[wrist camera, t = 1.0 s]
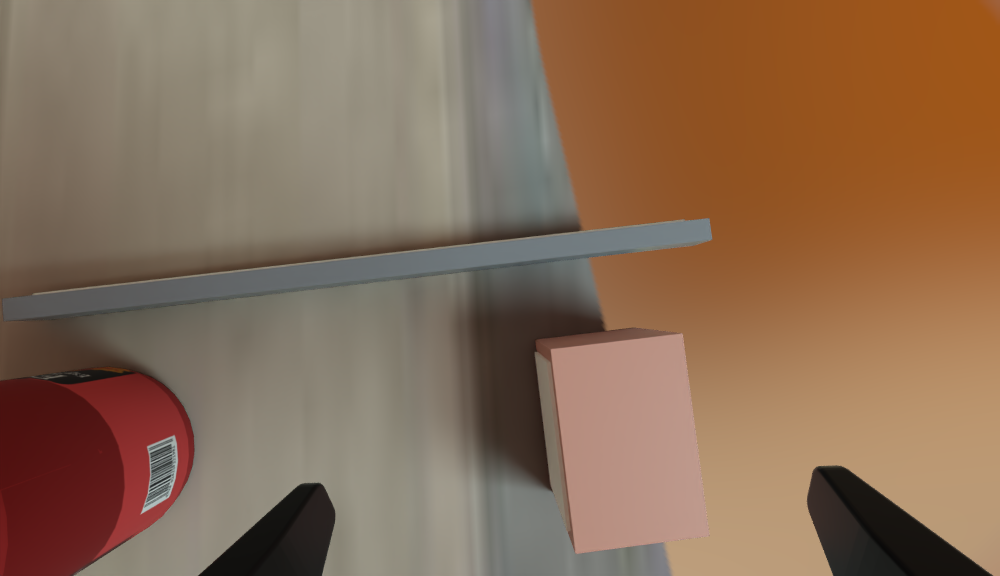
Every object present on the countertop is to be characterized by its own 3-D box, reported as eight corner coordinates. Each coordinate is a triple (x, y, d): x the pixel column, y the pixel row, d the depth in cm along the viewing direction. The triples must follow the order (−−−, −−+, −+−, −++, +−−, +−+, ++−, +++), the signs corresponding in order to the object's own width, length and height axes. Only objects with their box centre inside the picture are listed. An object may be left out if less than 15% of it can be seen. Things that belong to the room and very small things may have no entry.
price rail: (693, 245, 24) (712, 239, 22) (45, 320, 23) (3, 321, 21) (690, 223, 24) (708, 215, 22) (43, 297, 23) (1, 295, 21)
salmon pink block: (633, 327, 24) (682, 333, 18) (653, 478, 24) (709, 535, 18) (532, 339, 24) (546, 349, 18) (550, 491, 23) (571, 554, 17)
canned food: (138, 332, 23) (-176, 353, 12) (234, 465, 23) (2, 609, 12) (5, 428, 23) (-444, 538, 12) (101, 564, 23) (-264, 804, 12)
